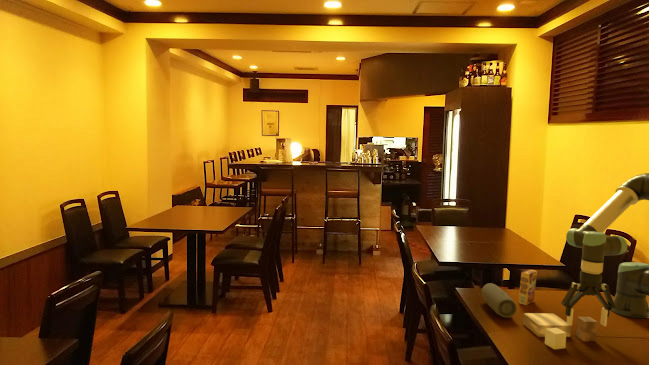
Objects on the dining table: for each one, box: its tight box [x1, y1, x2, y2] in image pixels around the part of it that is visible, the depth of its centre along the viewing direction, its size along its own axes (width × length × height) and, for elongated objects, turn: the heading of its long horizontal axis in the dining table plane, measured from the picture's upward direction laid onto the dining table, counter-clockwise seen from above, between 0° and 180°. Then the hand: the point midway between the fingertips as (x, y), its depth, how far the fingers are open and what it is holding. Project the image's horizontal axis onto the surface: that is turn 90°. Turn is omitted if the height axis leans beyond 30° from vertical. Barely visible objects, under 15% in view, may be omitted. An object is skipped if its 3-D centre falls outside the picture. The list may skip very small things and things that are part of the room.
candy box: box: [518, 269, 538, 306], centre depth 229 cm, size 9×4×15 cm, turn 134°
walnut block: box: [575, 316, 598, 342], centre depth 189 cm, size 5×5×8 cm
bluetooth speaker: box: [480, 282, 518, 319], centre depth 217 cm, size 23×9×10 cm, turn 179°
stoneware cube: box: [544, 328, 567, 350], centre depth 182 cm, size 5×5×6 cm
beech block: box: [522, 312, 572, 338], centre depth 197 cm, size 13×13×5 cm
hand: (586, 324), depth 189 cm, fingers open, 13 cm apart
